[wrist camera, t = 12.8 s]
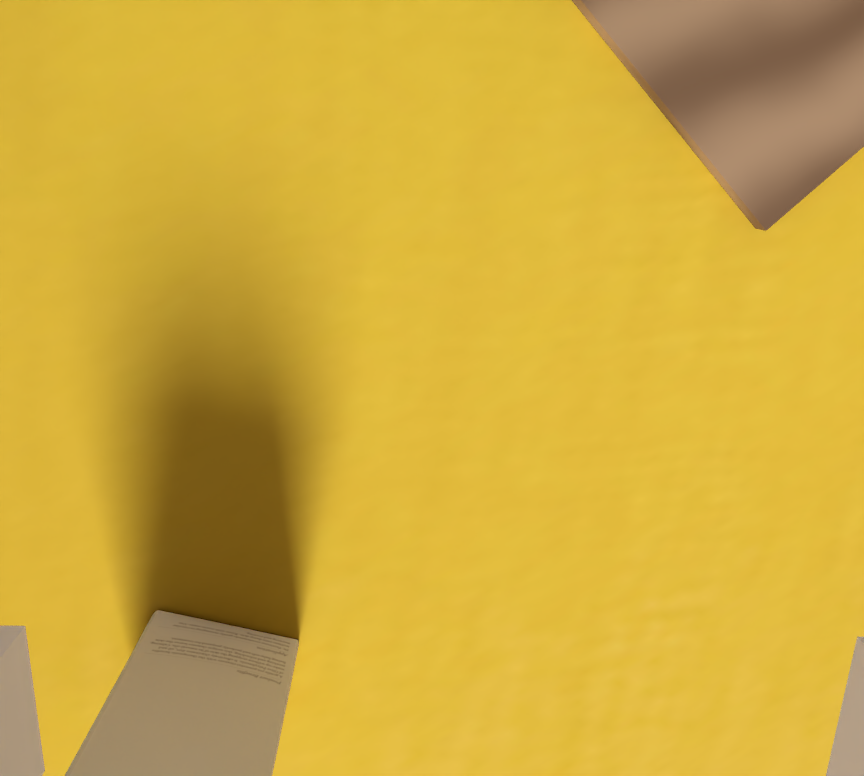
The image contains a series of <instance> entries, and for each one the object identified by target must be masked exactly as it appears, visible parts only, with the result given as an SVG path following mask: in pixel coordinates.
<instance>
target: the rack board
mask: <svg viewBox="0 0 864 776" xmlns="http://www.w3.org/2000/svg"><path fill="white" fill-rule="evenodd" d="M572 1H573V2H574V4H575V5H576V6H577V7H578V9H579V10H580V11H581V12H582V14H583V15H584V16H585V17H586V19H587V20H588V21H589V22H590V23H591V25H592V26H593V27H594V28H595V30H596V31H597V32H598V33H599V35H600V36H601V37H602V38H603V40H604V41H605V42H606V43H607V45H608V46H609V47H610V48H611V50H612V51H613V52H614V53H615V55H616V56H617V57H618V58H619V59H620V61H621V62H622V63H623V64H624V66H625V67H626V68H627V69H628V71H629V72H630V73H631V74H632V76H633V77H634V78H635V79H636V81H637V82H638V83H639V84H640V86H641V87H642V88H643V89H644V90H645V92H646V93H647V94H648V95H649V97H650V98H651V99H652V100H653V102H654V103H655V104H656V105H657V107H658V108H659V109H660V110H661V112H662V113H663V114H664V115H665V117H666V118H667V119H668V120H669V122H670V123H671V124H672V125H673V126H674V128H675V129H676V130H677V131H678V133H679V134H680V135H681V136H682V138H683V139H684V140H685V141H686V143H687V144H688V145H689V146H690V148H691V149H692V150H693V151H694V153H695V154H696V155H697V156H698V158H699V159H700V160H701V161H702V162H703V164H704V165H705V166H706V167H707V169H708V170H709V171H710V172H711V174H712V175H713V176H714V177H715V179H716V180H717V181H718V182H719V184H720V185H721V186H722V187H723V189H724V190H725V191H726V192H727V194H728V195H729V196H730V197H731V198H732V200H733V201H734V202H735V203H736V205H737V206H738V207H739V208H740V210H741V211H742V212H743V213H744V215H745V216H746V217H747V218H748V220H749V221H750V222H751V223H752V225H753V226H754V227H755V228H756V229H761V230H767V229H769V228H770V227H771V226H772V225H773V224H774V223H775V222H777V221H778V220H779V219H780V218H781V217H782V216H784V215H785V214H786V213H787V212H788V211H789V210H791V209H792V208H793V207H794V206H795V205H796V204H798V203H799V202H800V201H801V200H802V199H803V198H804V197H806V196H807V195H808V194H809V193H810V192H811V191H813V190H814V189H815V188H816V187H817V186H818V185H820V184H821V183H822V182H823V181H824V180H825V179H827V178H828V177H829V176H830V175H831V174H832V173H833V172H835V171H836V170H837V169H838V168H839V167H840V166H842V165H843V164H844V163H845V162H846V161H847V160H849V159H850V158H851V157H852V156H853V155H854V154H856V153H857V152H858V151H859V150H860V149H861V148H862V147H864V0H572Z"/></svg>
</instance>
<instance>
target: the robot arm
mask: <svg viewBox="0 0 864 776" xmlns="http://www.w3.org/2000/svg"><path fill="white" fill-rule="evenodd" d="M44 771H45V769H44V761H43V754H42V747H41V739H40V732H39V725H38V717H37V710H36V703H35V695H34V688H33V680H32V673H31V666H30V658H29V651H28V644H27V636H26V629H25V626H0V776H42V775H43V773H44ZM826 776H864V637H857V641H856V645H855V650H854V654H853V659H852V663H851V667H850V672H849V676H848V681H847V685H846V690H845V694H844V698H843V703H842V707H841V712H840V716H839V721H838V725H837V730H836V734H835V738H834V743H833V747H832V752H831V756H830V761H829V765H828V769H827V774H826Z"/></svg>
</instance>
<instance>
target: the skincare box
mask: <svg viewBox="0 0 864 776" xmlns="http://www.w3.org/2000/svg"><path fill="white" fill-rule="evenodd" d="M298 644H299V641H298V640H297V639H293V638H288V637H283V636H278V635H273V634H269V633H264V632H260V631H255V630H250V629H246V628H241V627H236V626H232V625H227V624H222V623H218V622H213V621H208V620H204V619H199V618H194V617H189V616H184V615H180V614H175V613H170V612H165V611H160V610H157V611H156V612H154V614H153V615H152V617H151V619H150V621H149V622H148V624H147V626H146V628H145V630H144V631H143V633H142V635H141V637H140V639H139V641H138V643H137V645H136V646H135V648H134V650H133V652H132V654H131V656H130V658H129V660H128V661H127V663H126V665H125V667H124V669H123V670H122V672H121V674H120V676H119V678H118V679H117V681H116V683H115V685H114V687H113V689H112V690H111V692H110V694H109V696H108V698H107V700H106V701H105V703H104V705H103V707H102V709H101V711H100V712H99V714H98V716H97V718H96V720H95V722H94V723H93V725H92V727H91V729H90V731H89V732H88V734H87V736H86V738H85V740H84V742H83V743H82V745H81V747H80V749H79V751H78V752H77V754H76V756H75V758H74V760H73V762H72V763H71V765H70V767H69V769H68V771H67V772H66V774H65V776H272V773H273V768H274V763H275V759H276V754H277V749H278V744H279V739H280V734H281V729H282V724H283V719H284V715H285V710H286V705H287V700H288V695H289V691H290V686H291V681H292V676H293V671H294V666H295V661H296V656H297V650H298Z"/></svg>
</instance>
